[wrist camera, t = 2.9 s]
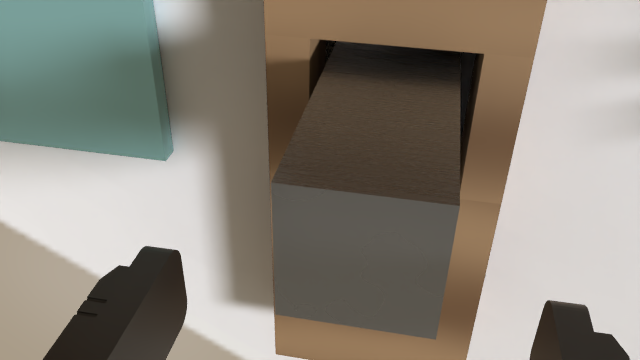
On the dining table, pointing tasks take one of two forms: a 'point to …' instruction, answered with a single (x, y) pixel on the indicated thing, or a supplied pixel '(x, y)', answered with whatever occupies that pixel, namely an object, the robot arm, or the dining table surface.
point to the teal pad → (83, 77)
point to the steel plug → (371, 192)
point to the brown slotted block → (475, 150)
